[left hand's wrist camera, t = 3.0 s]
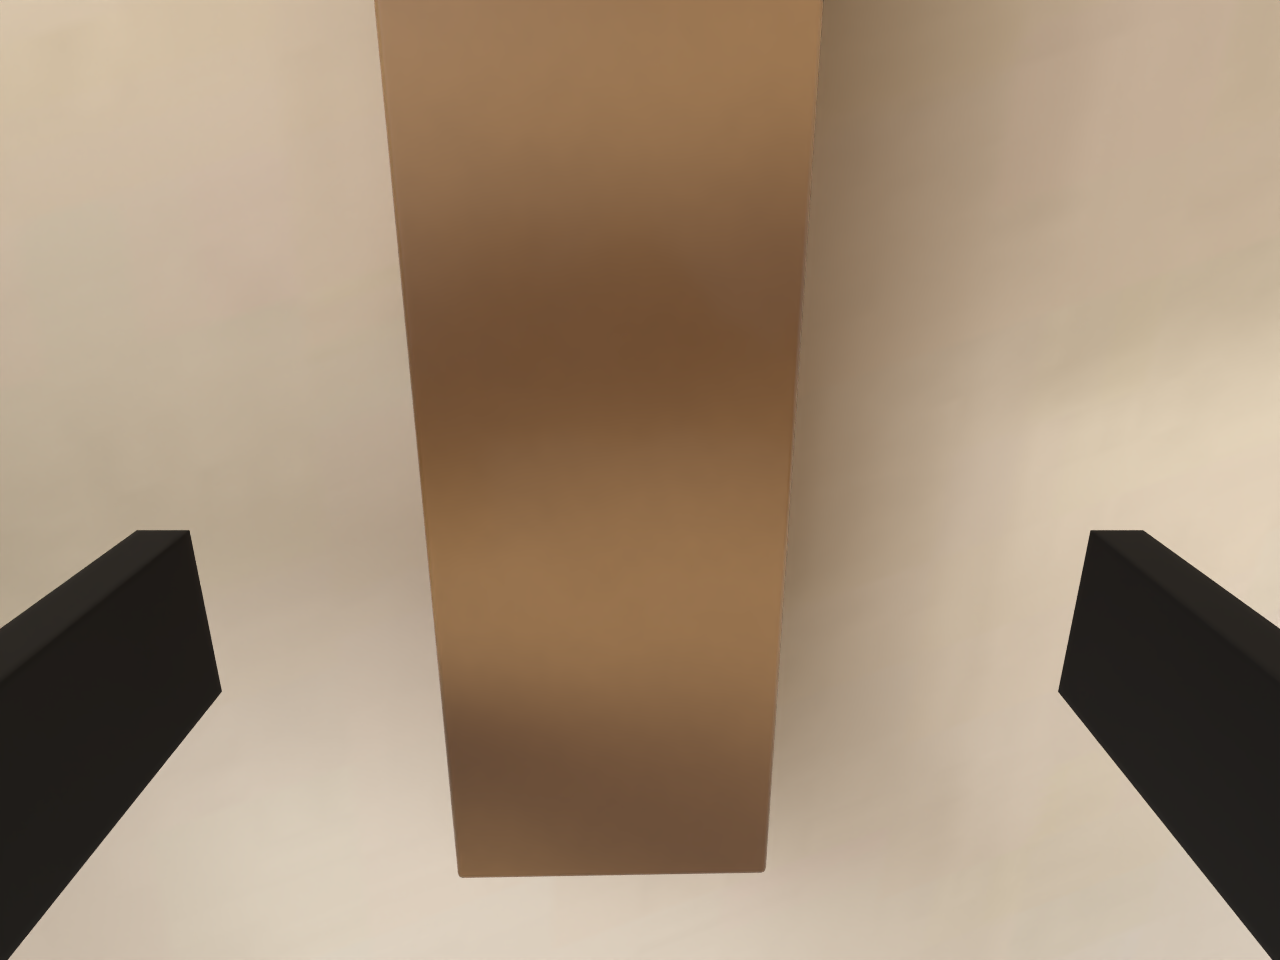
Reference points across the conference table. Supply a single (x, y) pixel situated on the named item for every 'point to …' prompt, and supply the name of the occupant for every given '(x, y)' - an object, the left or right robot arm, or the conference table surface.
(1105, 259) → the conference table surface
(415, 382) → the beam
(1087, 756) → the conference table surface
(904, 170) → the conference table surface
